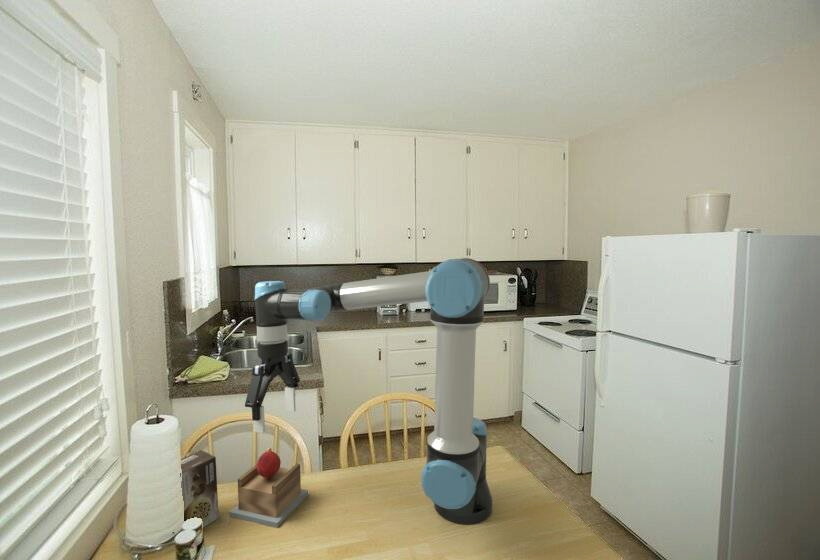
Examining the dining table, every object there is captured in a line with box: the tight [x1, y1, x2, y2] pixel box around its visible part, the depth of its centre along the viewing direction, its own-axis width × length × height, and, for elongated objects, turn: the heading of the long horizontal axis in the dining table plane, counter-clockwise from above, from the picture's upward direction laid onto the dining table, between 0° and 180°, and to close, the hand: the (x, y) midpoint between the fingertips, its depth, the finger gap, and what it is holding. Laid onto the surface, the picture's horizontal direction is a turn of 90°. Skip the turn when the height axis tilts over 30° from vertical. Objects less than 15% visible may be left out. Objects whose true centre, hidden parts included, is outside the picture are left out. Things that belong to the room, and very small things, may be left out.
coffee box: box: [180, 449, 219, 528], centre depth 99 cm, size 9×6×16 cm
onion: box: [256, 447, 282, 479], centre depth 107 cm, size 6×6×8 cm
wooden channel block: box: [237, 463, 302, 518], centre depth 107 cm, size 11×11×8 cm
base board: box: [228, 488, 309, 529], centre depth 107 cm, size 14×14×1 cm
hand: (276, 420), depth 108 cm, fingers open, 13 cm apart
